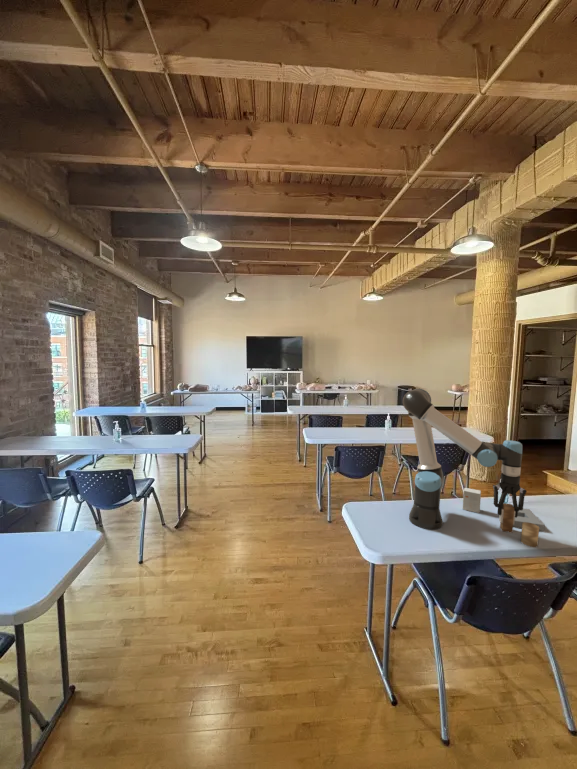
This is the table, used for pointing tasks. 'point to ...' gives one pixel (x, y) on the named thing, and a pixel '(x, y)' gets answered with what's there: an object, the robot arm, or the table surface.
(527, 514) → the socket block
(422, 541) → the table surface
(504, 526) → the square peg
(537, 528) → the light brown wooden block
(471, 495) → the small box
